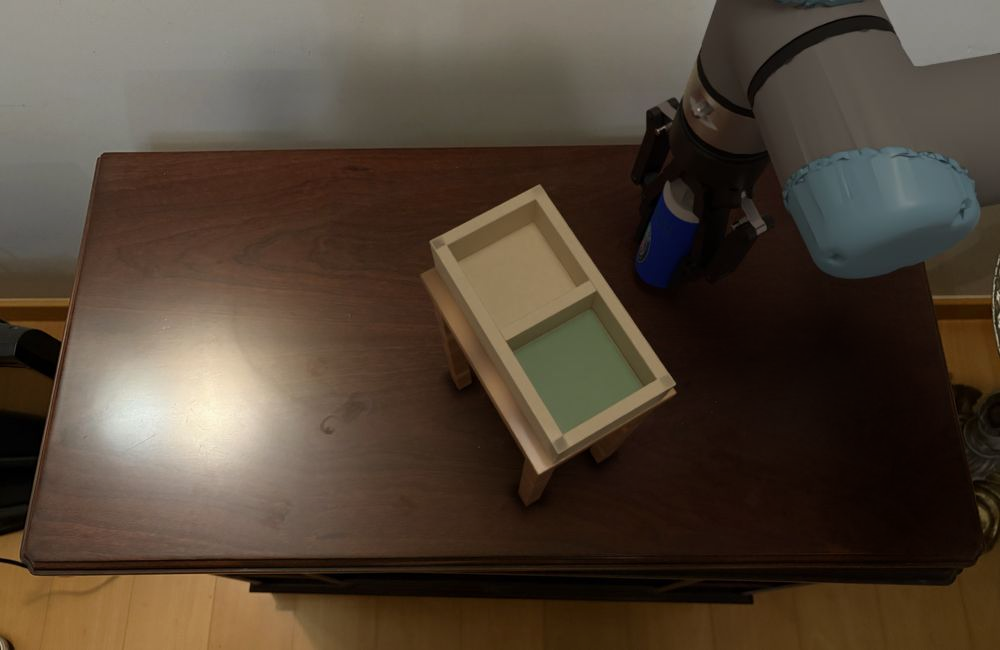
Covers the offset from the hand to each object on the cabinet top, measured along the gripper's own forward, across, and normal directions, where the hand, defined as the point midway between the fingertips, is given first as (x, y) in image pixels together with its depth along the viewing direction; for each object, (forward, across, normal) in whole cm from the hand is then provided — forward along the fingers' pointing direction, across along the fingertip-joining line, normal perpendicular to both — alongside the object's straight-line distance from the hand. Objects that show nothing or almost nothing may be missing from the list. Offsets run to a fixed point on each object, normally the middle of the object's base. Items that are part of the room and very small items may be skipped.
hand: (663, 258), depth 70 cm
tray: (-21, +6, -19) cm, 29 cm away
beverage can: (+2, 0, 0) cm, 2 cm away
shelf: (+5, +6, -19) cm, 20 cm away
